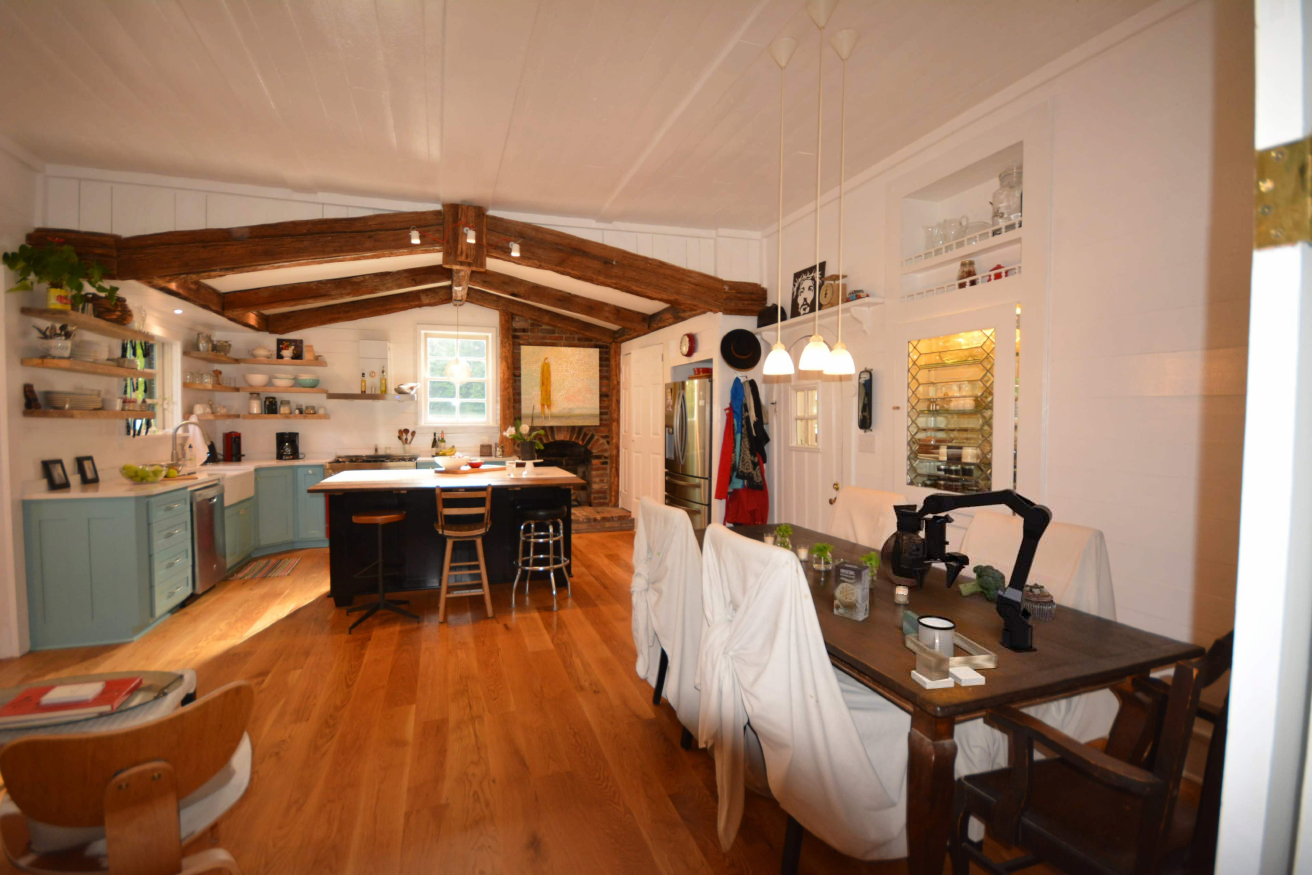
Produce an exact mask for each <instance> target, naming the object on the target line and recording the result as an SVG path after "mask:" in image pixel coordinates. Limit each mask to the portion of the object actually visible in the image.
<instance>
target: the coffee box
mask: <svg viewBox="0 0 1312 875" xmlns="http://www.w3.org/2000/svg"><path fill="white" fill-rule="evenodd" d="M870 569H871V568H870V566H869V565H864V564H859V563H855V562H851V561H846V560H841V561H840V562H838V563H836V564H834V592H833V593H834V594H833V595H834V598H833V600H834V601H833V615H837V616H840V617H842V618H848V619H849V620H850V619H851V620H854V621H859V622H861V621H863V620H865V619H866V618H867V617H869V601H870V600H869V597H870V596H869V595H870V594H869V593H870Z"/></svg>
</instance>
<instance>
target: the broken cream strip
mask: <svg viewBox="0 0 1312 875" xmlns="http://www.w3.org/2000/svg"><path fill="white" fill-rule="evenodd" d="M910 673H911V674H910V676H911V678H912V679H913V680H914V681H915V682H917V683H918V684H919V685H920V686H922V687H923V688H924V689H926V690H930V689H942V688H953V687H955V683H957V684H958V685H959V686H961V687H967V686H982V685H986V677H985V676H983V675H981V673H978V671H975V669H971V668H969V667H954V668H949V678H948V679H943V680H938V681H930V680H929V679H927V678H925V677H923V676H922V675H920V674H918V673H916V669H915V670H911V672H910Z"/></svg>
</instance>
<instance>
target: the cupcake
mask: <svg viewBox="0 0 1312 875" xmlns="http://www.w3.org/2000/svg"><path fill="white" fill-rule="evenodd" d="M1053 599H1054V596H1053V595H1052V594H1051V593H1050V591H1049V590H1048V589H1046V588H1045V586H1044V585H1041V584H1040V585H1039V584H1038V583H1036V582H1035V583H1033V584H1028V583H1026V585H1025V602H1024V607H1025V608H1026V609H1027V610H1028V611H1029V612H1030V613H1031V614H1032V615H1033V618H1032V620H1033V619H1036V620H1035V621H1038V620H1045V621H1044V622H1049V621H1048V620H1051V621H1053V620H1054V616H1055V611H1056V607H1057V603H1056V602H1055V601H1054V600H1053ZM1052 619H1053V620H1052Z"/></svg>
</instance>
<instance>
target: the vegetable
mask: <svg viewBox="0 0 1312 875" xmlns="http://www.w3.org/2000/svg"><path fill="white" fill-rule="evenodd" d="M972 572H973V573H974V574H975V575H976V576H975V579H973V581H971V582H965V583H960V584H958V585H957V586H958V589H959V592H960V593H961V595H962V597H969V595H971V594H974V593H978V594H981V595H985V597H986V598H987V599H988V600H989V601H991V602H993V603H995V602H996V600H997V598H998V591H999V589H1000V588H1001V586H1004V587H1006V576H1005V574H1004V573H1003V572H1002V571H1000V570H999V569H998V568H995V567H994V566H993V565H989V564H987V565H981V564H978V565H976V566H974V567H973V568H972Z"/></svg>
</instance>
